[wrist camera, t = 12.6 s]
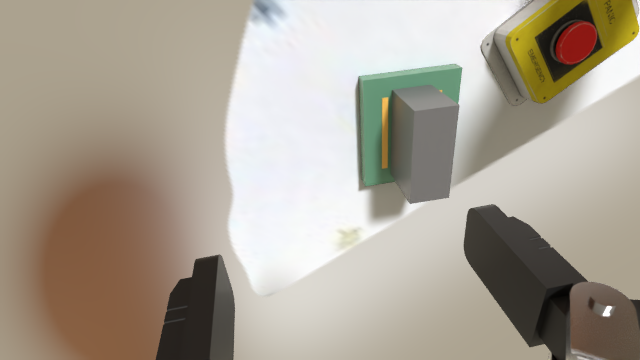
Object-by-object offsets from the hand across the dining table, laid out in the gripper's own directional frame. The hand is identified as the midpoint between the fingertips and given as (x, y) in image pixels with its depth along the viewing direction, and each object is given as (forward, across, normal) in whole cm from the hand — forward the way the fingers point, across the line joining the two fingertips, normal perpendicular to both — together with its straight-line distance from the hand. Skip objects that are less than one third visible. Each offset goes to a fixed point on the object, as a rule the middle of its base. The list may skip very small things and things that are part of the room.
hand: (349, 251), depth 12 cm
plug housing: (+26, -12, +9) cm, 30 cm away
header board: (+28, -12, +9) cm, 32 cm away
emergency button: (+28, -28, +1) cm, 40 cm away
